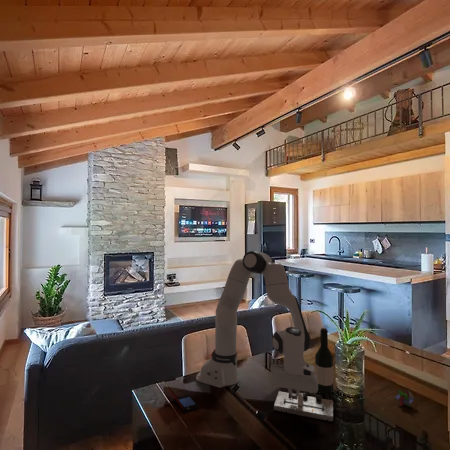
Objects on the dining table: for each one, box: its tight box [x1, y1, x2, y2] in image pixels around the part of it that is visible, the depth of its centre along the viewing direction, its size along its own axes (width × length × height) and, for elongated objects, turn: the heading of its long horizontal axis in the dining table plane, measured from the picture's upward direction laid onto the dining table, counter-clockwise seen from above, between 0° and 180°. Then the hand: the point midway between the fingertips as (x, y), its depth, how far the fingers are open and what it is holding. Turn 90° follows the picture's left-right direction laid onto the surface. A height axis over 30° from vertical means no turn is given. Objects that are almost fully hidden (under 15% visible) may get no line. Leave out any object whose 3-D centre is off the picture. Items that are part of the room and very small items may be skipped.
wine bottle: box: [314, 327, 334, 395], centre depth 150 cm, size 8×8×30 cm
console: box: [273, 389, 334, 422], centre depth 134 cm, size 24×13×4 cm, turn 71°
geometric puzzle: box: [394, 389, 416, 408], centre depth 137 cm, size 7×7×8 cm
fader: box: [298, 392, 303, 406], centre depth 133 cm, size 2×3×4 cm, turn 161°
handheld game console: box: [167, 386, 200, 414], centre depth 136 cm, size 12×11×7 cm
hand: (294, 398), depth 134 cm, fingers closed
